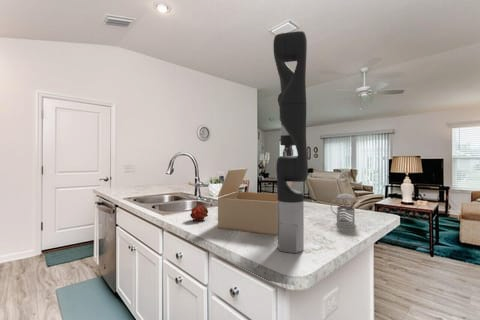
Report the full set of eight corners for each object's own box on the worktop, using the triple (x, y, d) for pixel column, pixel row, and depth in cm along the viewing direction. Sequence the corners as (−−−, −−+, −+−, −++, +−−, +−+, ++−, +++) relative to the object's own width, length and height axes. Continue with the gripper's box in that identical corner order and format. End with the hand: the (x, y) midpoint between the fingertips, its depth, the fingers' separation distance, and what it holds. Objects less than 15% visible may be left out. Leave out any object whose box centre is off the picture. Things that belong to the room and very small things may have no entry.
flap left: (229, 170, 110) (228, 169, 110) (218, 197, 112) (217, 196, 112) (247, 168, 131) (247, 167, 131) (237, 190, 133) (237, 190, 134)
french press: (358, 228, 110) (358, 174, 110) (331, 226, 114) (331, 174, 114) (355, 223, 119) (355, 173, 119) (330, 221, 123) (330, 172, 123)
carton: (276, 235, 101) (276, 202, 101) (217, 228, 112) (217, 198, 112) (288, 221, 123) (288, 194, 123) (238, 216, 134) (238, 191, 134)
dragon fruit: (208, 220, 132) (193, 229, 122) (198, 210, 135) (182, 218, 125) (214, 209, 128) (199, 217, 118) (203, 199, 131) (188, 206, 121)
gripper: (294, 133, 104) (293, 173, 104) (299, 136, 116) (298, 171, 117) (277, 134, 107) (276, 172, 107) (283, 136, 119) (283, 171, 120)
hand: (288, 172), depth 112 cm, fingers closed
